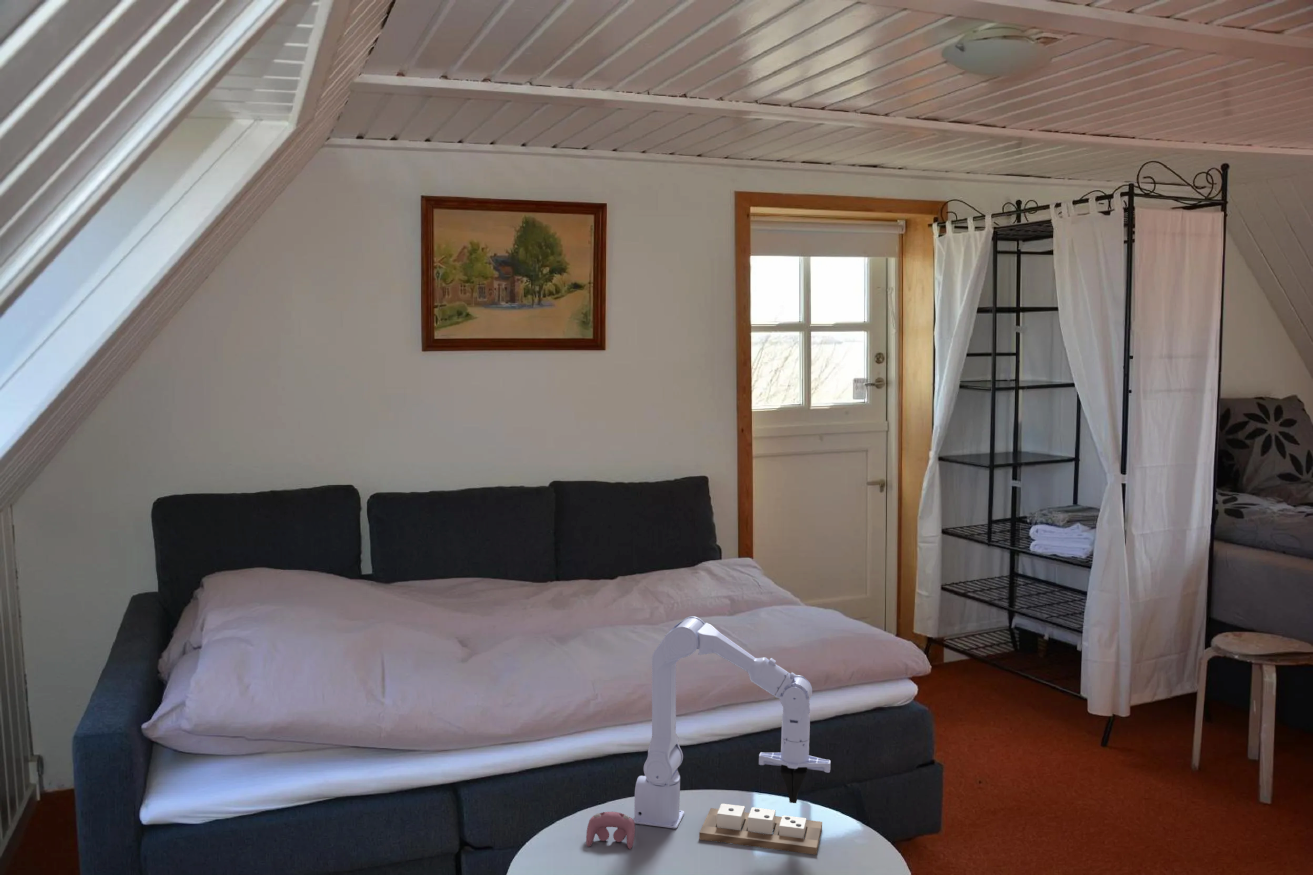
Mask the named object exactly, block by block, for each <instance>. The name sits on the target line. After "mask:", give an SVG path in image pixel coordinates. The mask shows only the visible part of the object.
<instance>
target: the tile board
mask: <svg viewBox="0 0 1313 875" xmlns="http://www.w3.org/2000/svg"><path fill="white" fill-rule="evenodd" d="M718 811H719V808H713V807H710V809H709V811H708V813H707V815H706V817H705V819H704V822H703V824H702V826H701V828H700V830H699V832H698V835H699V836H698V838H699V840H700V841H709V842H714V841H717V842H716V843H722V842H726V843H725V844H730V843H733V844H732V845H737V844H738V846H739V845H740V846H746V847H752V848H753V847H754V848H761V849H762V848H763V849H767V850H770V849H771V850H777V851H785V852H793V853H798V854H799V853H801V854H807V855H814V856H815V855H816V856H817V855H818V849H819V845H820V839H821V836H822V831H823V830H822V829H823V821H818V820H810V819H806V834H805V838H804V839H802V838H795V837H787V836H779V825H780V822H781V819H782V816H777V815H775V826H774V829H773V832H772V834H765V833H757V832H749V831H748V816H749V814H750V812H747V811H745V820H744V823H743V825H742V828H741V830H734V829H726V828H718V827H717V813H718Z"/></svg>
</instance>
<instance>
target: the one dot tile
mask: <svg viewBox="0 0 1313 875" xmlns="http://www.w3.org/2000/svg"><path fill="white" fill-rule="evenodd" d="M718 809H719V811H718V813H717V827H718V828H724V829H732V830H740V831H742V829H743V823H744V820H745V812H746V806H745V805H737V804H728V803H721V804H720V806H719V808H718Z"/></svg>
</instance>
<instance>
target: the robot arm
mask: <svg viewBox="0 0 1313 875" xmlns="http://www.w3.org/2000/svg"><path fill="white" fill-rule="evenodd" d="M697 650H698V655H700V656H701V655H709V654H710V655H712V654H715V655H717V656H719V657H720V658H723V659H724V660H725V661H728V662H730V663H731V664H733V665H734V666H736V667H738V668H740V669H742V670H743V671H745V672H747V674H748V677H749V680H750V682H751V683H753V684H754V685H756V686H758V687H759V688H760V689H762V690H764V691H766V692H767V693H769V694H770V695H772V696H773V697H775V699H779V701H780V704H781V706H782V714H781V736H780V737H781V738H780V740H781V741H780V752H762V751H761V752H760V753H759V754H758V765H760V766H764V765H771V766H780V771H779V772H780V776H781V777H782V781H783V782H784V785H785V787H786V791H787V795H788V800H789V801H788V802H789V803H790V804H797V802H798V797H799V791H800V790H801V787H802V784H803V782H804V780H805V778H806V776H807V773H808V770H814V771H822V772H824V773H828V774H829V773H830V772H831V760H830V759H825V758H821V757H817V756H812V755H810V732H811V731H810V730H811V728H810V726H811V715H810V712H811V707H810V700H811V698H812V696H813V687H812V684H811V682H810V681H809V680H808V679H807V678H806V677H805V676H803V675H799V674H796V673H794V672H791V673H790V672H789V671H787V670H786V669H784V668H783V667H781V666H780V665H778V664H776V663H777V660H775V659H774V658H773V657H771V658H767V657H766V656H765V657H764V656H763V657H755V656H754V655H752V654H751V653H750V652H748V651H747V650H746V649H744V648H742V647H741V646H739V645H738V644H737V643H736V642H734V641H732V640H731V639H730V638H728V637H727V636H726V635H724V634H722V633H721V632H720V631H719V630H718V629H717V628H715V627H714V626H713V625H712V624H710V623H709V622H705V621H704V620H703V619H701V618H700V617H698V616H692V615H691V616H687V617H685V618H684V619H682V620H681V621H679V622H678V623H676V624H675V625H674V627H672V628H671V629H670V630H669V631H668V632H667V633H665V635H664V637H663V638H662V640H661V641H660V643H659V644H658V646H657V647H656V648H655V650H654V651H653V652H652V657H651V681H652V682H651V738H650V743H649V744H648V748H647V749H648V750H647V758H646V760H645V762H644V765H643V773H644V775H639V776H637V779H636V782H635V787H634V808H633V809H634V814H633V815H634V819H633V820H634V822H635V825H636V824H637V825H644V826H651V827H652V826H653V827H661V828H666V829H667V828H668V829H677V828H678V826H679V825H680V823H681V821H682V819H683V817H684V815H685V811H684V810H681V808H680V806H681V805H680V802H681V801H680V796H681V775H680V772H679V769H678V768H680V766H681V765H682V763H683V761H684V760H683V759H684V754H683V751H682V749H681V747H680V743H679V742H680V739H679V736H678V735H677V725H676V724H677V662H679V660H681V659H683V658H686V657H689V656H692V655H693V654H694V653H695V652H696V651H697Z"/></svg>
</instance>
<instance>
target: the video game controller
mask: <svg viewBox="0 0 1313 875" xmlns="http://www.w3.org/2000/svg"><path fill="white" fill-rule="evenodd" d="M635 826H636V823H635V822H634V819H633V818H632V817H630V816H629V815H627V814H624V813H621V812H617V811H603V812H598V813H596V814H593V815H592V816H591V817H590V819H589V821H588V824H587V827H586V828H587V829H586V837H585V838H586V839H585V844H586V846H587V847H588V848H589V847H591V846H592V844H593V843H594V840H595V836H596V835H597V838H598V839H599V840H600V841H601V842H605V841H608V840H609V838H610V832H609V830H608V829H607V828H617V829H616V830H615V831H614V832H613V834H612V838H613V840H614V841H615V842H617V843H620V842H623V841H624V840H625V838H626V846H627V849H628V850H631V849H632V848H633V846H634V843H635V835H636V827H635Z"/></svg>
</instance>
